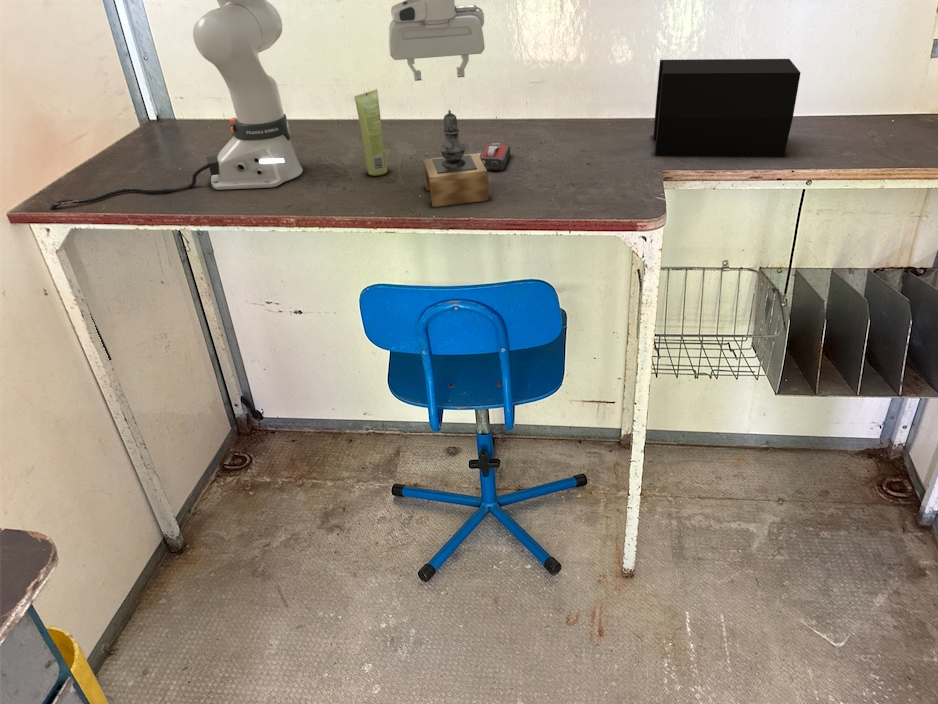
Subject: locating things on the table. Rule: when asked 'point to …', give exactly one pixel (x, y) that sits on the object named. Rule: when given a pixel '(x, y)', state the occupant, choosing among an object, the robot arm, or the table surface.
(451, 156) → the chess piece
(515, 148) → the table surface
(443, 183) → the stand
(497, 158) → the walkie-talkie
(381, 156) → the tube
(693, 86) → the uninterruptible power supply
